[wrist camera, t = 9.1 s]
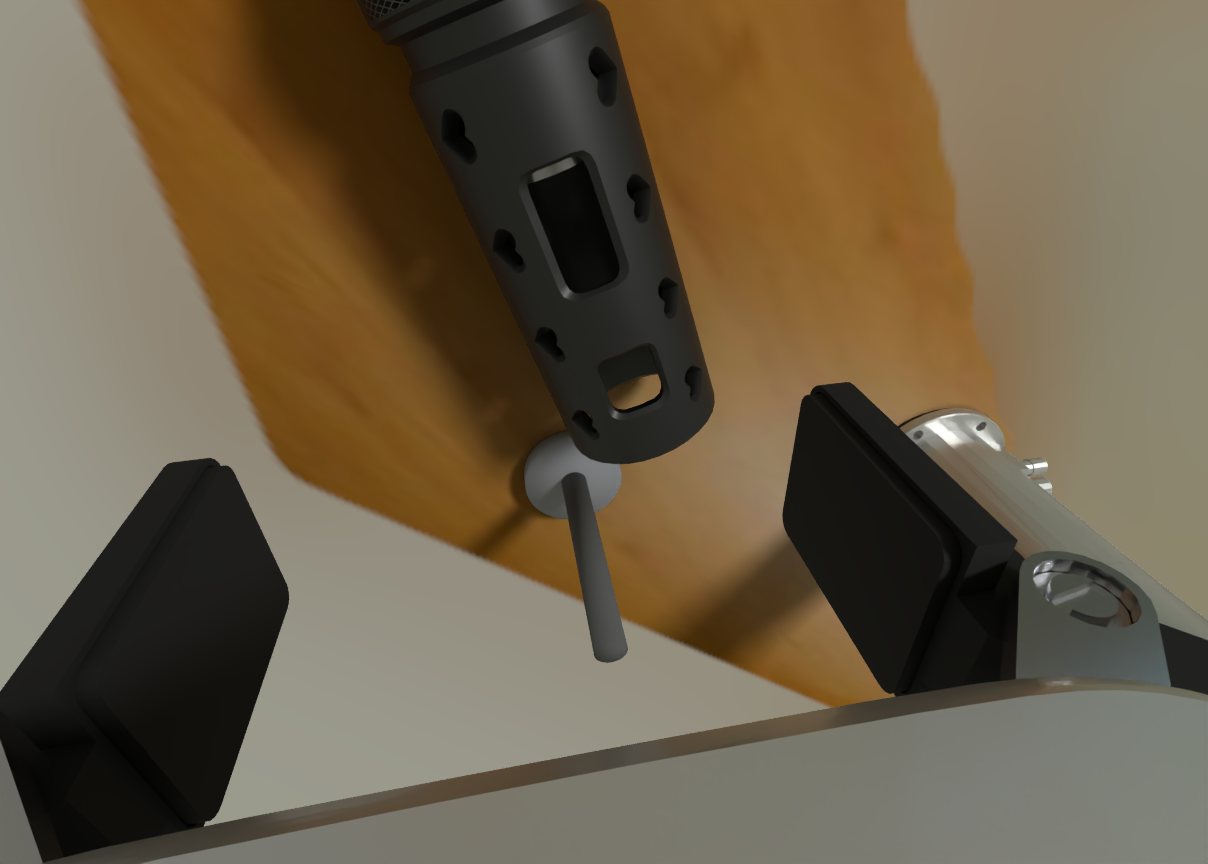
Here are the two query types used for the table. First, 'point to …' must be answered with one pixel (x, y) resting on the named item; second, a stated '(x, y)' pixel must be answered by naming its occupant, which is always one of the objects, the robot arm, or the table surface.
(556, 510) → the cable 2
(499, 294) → the table surface
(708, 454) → the table surface
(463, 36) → the muzzle brake
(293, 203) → the table surface
